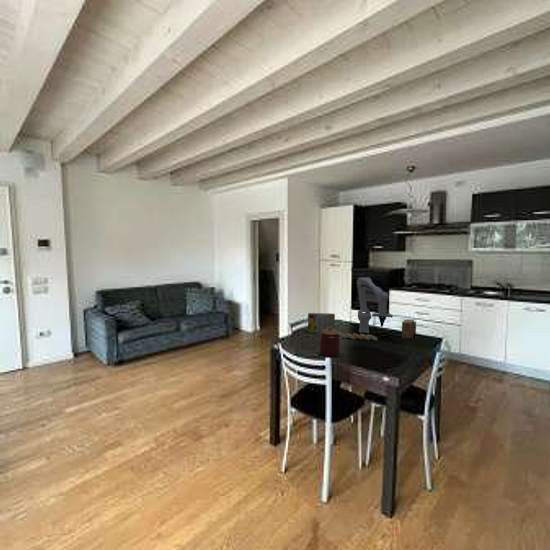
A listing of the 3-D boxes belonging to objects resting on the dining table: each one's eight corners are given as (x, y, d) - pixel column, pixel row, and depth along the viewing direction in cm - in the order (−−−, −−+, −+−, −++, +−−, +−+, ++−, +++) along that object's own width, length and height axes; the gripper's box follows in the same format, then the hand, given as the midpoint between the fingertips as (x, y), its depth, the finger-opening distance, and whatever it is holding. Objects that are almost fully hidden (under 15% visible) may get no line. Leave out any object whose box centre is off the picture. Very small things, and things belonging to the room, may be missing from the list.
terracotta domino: (361, 338, 252) (352, 334, 254) (362, 336, 252) (353, 332, 253) (362, 339, 248) (353, 336, 249) (362, 338, 247) (353, 334, 248)
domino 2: (342, 337, 256) (333, 337, 257) (342, 335, 256) (333, 335, 257) (342, 339, 251) (332, 338, 252) (342, 337, 251) (333, 336, 252)
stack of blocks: (407, 331, 273) (408, 316, 271) (415, 333, 269) (416, 317, 268) (401, 337, 255) (401, 321, 254) (409, 339, 251) (410, 323, 250)
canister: (324, 348, 226) (324, 323, 224) (342, 352, 219) (343, 325, 218) (316, 354, 215) (317, 327, 213) (335, 357, 208) (336, 330, 206)
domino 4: (368, 338, 251) (359, 335, 252) (369, 336, 251) (360, 333, 252) (369, 340, 246) (360, 337, 248) (370, 338, 246) (360, 335, 247)
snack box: (334, 331, 271) (334, 313, 270) (334, 333, 266) (335, 314, 264) (307, 330, 273) (308, 312, 272) (307, 332, 268) (308, 313, 267)
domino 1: (346, 336, 255) (337, 333, 257) (347, 335, 255) (338, 331, 257) (346, 338, 251) (337, 335, 252) (347, 336, 250) (338, 333, 252)
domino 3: (354, 337, 254) (345, 334, 255) (355, 335, 253) (346, 332, 254) (355, 339, 249) (345, 336, 250) (355, 337, 248) (346, 334, 250)
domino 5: (375, 339, 250) (366, 335, 251) (376, 337, 250) (367, 333, 251) (376, 340, 246) (367, 337, 247) (377, 339, 245) (368, 335, 246)
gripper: (372, 309, 247) (372, 326, 249) (393, 310, 244) (392, 328, 246) (372, 307, 254) (371, 324, 256) (392, 308, 251) (391, 325, 252)
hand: (381, 326), depth 251 cm, fingers closed
